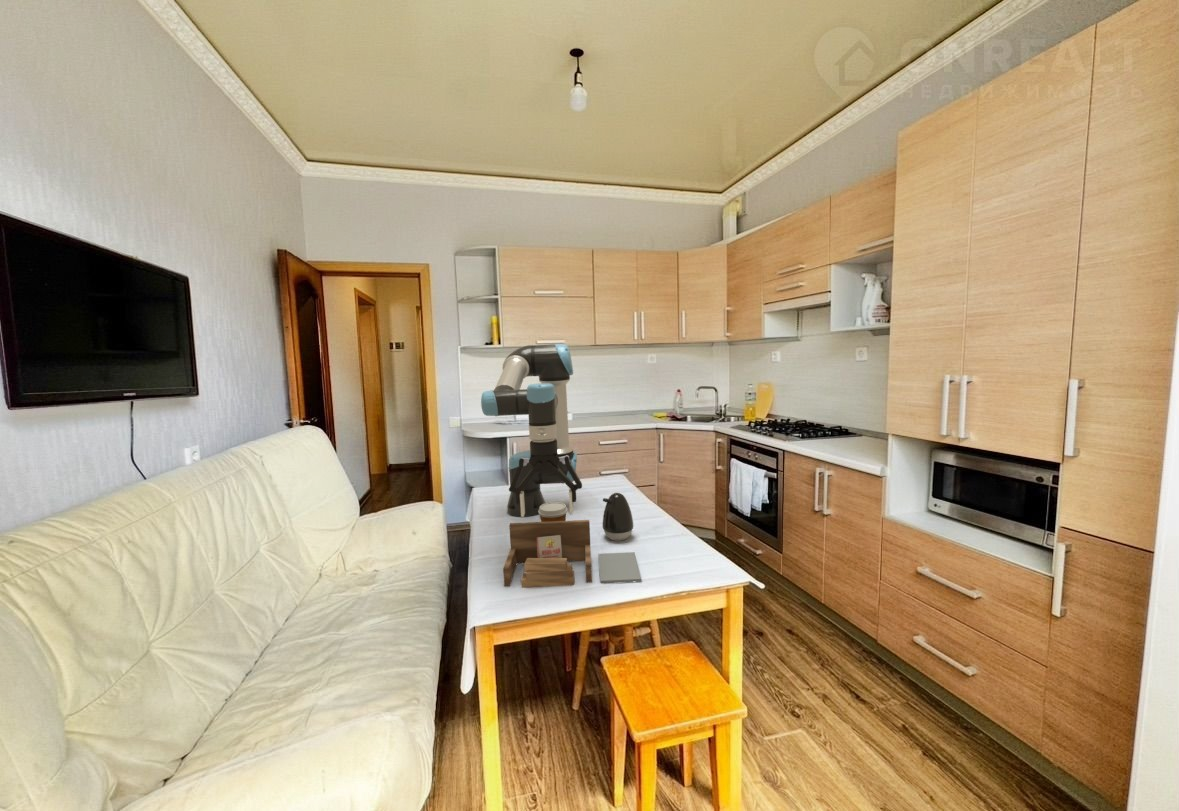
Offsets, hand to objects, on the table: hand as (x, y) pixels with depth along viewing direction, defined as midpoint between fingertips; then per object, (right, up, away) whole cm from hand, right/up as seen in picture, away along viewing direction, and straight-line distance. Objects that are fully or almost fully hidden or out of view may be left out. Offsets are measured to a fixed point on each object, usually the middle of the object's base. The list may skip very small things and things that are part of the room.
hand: (547, 514), depth 125 cm
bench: (+1, -17, +1) cm, 17 cm away
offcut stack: (+1, -17, -5) cm, 18 cm away
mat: (+20, -16, +2) cm, 26 cm away
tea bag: (+1, -17, +2) cm, 17 cm away
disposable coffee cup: (0, -14, +21) cm, 26 cm away
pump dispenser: (+21, -13, +22) cm, 34 cm away
